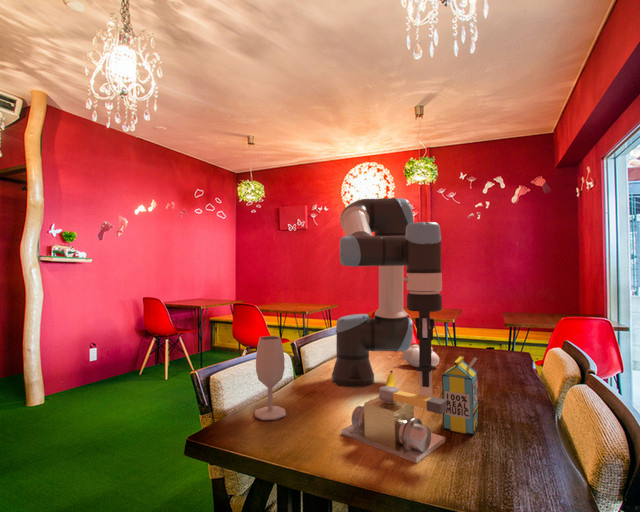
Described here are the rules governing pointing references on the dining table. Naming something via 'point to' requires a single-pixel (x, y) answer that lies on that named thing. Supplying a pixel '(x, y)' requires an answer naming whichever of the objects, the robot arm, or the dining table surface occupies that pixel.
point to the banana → (390, 380)
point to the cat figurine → (413, 356)
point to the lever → (413, 399)
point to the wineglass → (270, 373)
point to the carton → (461, 398)
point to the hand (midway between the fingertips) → (425, 400)
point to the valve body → (392, 429)
